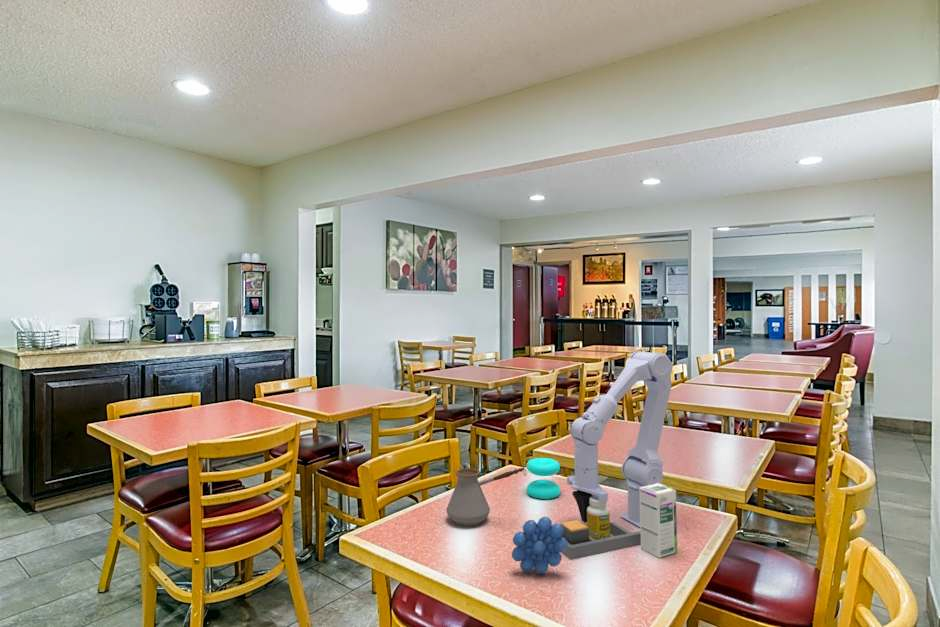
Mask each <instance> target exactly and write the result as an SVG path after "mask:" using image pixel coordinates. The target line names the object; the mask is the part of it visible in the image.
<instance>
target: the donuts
mask: <svg viewBox="0 0 940 627" xmlns="http://www.w3.org/2000/svg"><path fill="white" fill-rule="evenodd" d="M526 470H527V471H528V472H529V473H531V474H532V475H535V476H539V477H551V476H553V475H554V476H555V475H556V474H558V472H560V470H561V464H560V463H559V461H558V460H556V459H553V458H549V457H536V458H531V459H529V460H528V461H527V463H526ZM526 492H527V495H529V496H530V497H532V498H535V499H538V498H539V500H550V499H551V498H552V499H555V498H557V497H558V496H559V495H560V493H561V487H560V485H559V484H558V483H556V482H554V481H552V480H549V479H535V480H532V481H530V482H529V483H528V484H527V487H526Z"/></svg>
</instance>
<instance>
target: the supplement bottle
mask: <svg viewBox="0 0 940 627" xmlns="http://www.w3.org/2000/svg"><path fill="white" fill-rule="evenodd" d="M589 503H590V506H588V508H587V522H586V524H587V525H586V526H587V527H588V529H589V536H591V537H592V538H594V539H595V540H599V539H604V538H608V537H611V533H610V523H611V521H610V520H611V518H610V515H611V514H610V508H609V507H608V506H607V505H608V504H607V501H604V502H600V501H599V499H597V498H596V497H594V496H592V497H590V498H589Z"/></svg>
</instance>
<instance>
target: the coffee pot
mask: <svg viewBox="0 0 940 627" xmlns="http://www.w3.org/2000/svg"><path fill="white" fill-rule="evenodd" d="M526 470H527V469H525V467H520V468H518V469H516V468H514V470H510V471H506V472H504V473H501V474H498V475H496V476H493V477H492V478H488V479H485V480H482V481H479V480H478V478H479V475H480V474H481V471H480V470H479V469H477V468H472V467H469V468H467V467H466V468H459V469H457V470H456V471H455V475H456V476H457V481H456V485H455V487H454V490H453V492H452V495H451V496H450V499H449V502H448V504H447V507H446V514H447V515H448V517H449V518H450V519H451V521H453V523H454V524H456V525H458V524H459V526H462V525H466V526H465V527H472V526H471V525H474V526H478V525H480V524H482V523H483V521H484V520H485V519H487V517H488V516H489V514H490V512H491V508H490V505H489V504H488V501H487V498H486V497H485V493H484V492H483V489H482V487H481V486H484V485H485V484H486V485H487V484H489V483H491V482H494V481H498V480H502V479H505V478H506V479H507V478H509V477H510V476H511V477H512V476H513V475H518V474H519V473H523V475H524V476H525V477H527V474H526V473H527V471H526ZM481 522H482V523H481ZM479 523H480V524H479ZM477 524H478V525H477Z"/></svg>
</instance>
